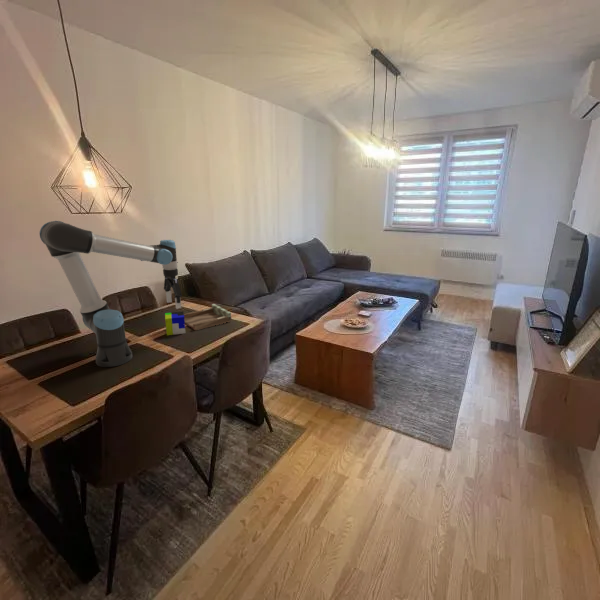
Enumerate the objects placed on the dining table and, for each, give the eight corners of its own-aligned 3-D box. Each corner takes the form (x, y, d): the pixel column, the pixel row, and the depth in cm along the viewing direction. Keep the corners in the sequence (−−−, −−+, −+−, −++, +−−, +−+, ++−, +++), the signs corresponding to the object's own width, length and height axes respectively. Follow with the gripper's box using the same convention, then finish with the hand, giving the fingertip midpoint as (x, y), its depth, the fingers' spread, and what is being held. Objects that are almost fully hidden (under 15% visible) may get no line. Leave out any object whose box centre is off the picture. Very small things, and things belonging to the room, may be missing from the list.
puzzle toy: (185, 333, 188) (184, 317, 185) (166, 335, 184) (165, 318, 181) (184, 327, 196) (183, 311, 194) (166, 329, 193) (165, 313, 190)
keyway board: (231, 321, 207) (230, 312, 205) (195, 330, 192) (194, 320, 190) (214, 312, 223) (214, 303, 221) (180, 320, 207) (179, 310, 206)
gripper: (186, 271, 173) (189, 309, 179) (168, 264, 191) (172, 298, 197) (172, 273, 168) (175, 312, 174) (155, 265, 186) (159, 301, 192)
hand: (173, 305), depth 186 cm, fingers open, 13 cm apart
